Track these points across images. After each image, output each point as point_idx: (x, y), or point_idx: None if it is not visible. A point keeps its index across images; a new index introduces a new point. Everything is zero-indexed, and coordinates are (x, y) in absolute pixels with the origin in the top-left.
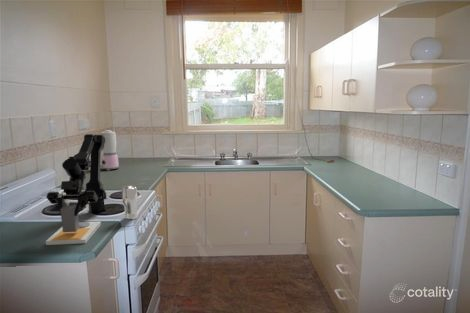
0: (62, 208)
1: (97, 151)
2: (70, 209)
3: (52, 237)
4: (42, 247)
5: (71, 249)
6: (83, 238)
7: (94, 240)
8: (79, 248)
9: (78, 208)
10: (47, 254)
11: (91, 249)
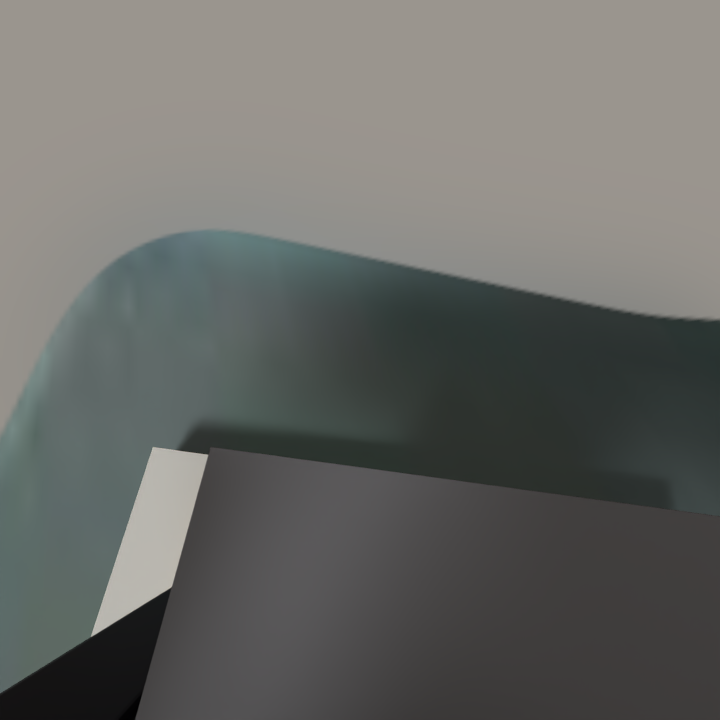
0: (713, 515)
1: None
2: (346, 480)
3: None
4: (653, 467)
5: (303, 340)
6: (178, 493)
7: (55, 529)
8: (223, 344)
9: (29, 685)
10: (508, 289)
11: (102, 295)
